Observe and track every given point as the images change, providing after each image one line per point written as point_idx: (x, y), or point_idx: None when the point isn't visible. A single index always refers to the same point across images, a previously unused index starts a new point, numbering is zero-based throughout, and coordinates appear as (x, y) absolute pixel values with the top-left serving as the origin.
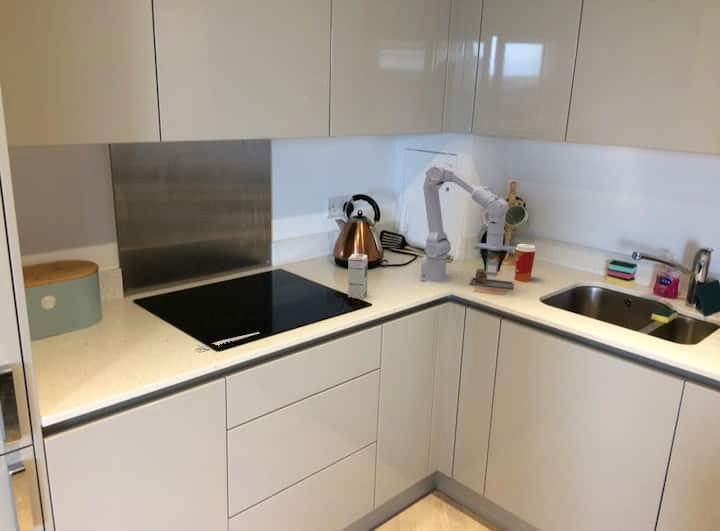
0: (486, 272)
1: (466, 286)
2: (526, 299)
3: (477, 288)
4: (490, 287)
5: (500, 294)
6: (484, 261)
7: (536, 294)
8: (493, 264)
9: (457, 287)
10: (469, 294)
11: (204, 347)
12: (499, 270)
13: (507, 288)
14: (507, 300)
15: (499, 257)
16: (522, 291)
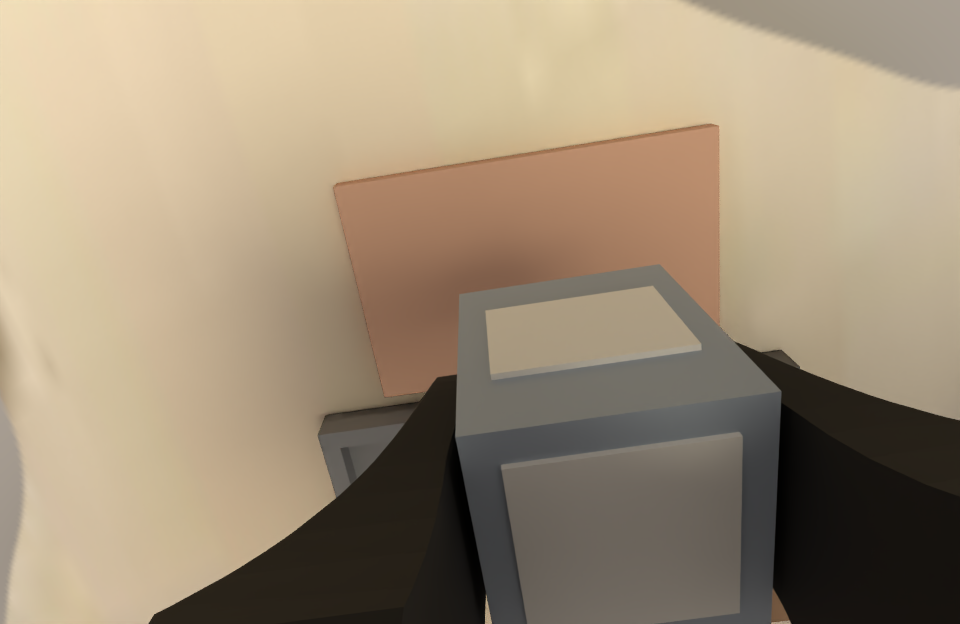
0: (661, 284)
1: (813, 322)
2: (88, 208)
3: (687, 261)
4: None
5: (387, 179)
6: (840, 401)
7: (75, 424)
8: (571, 386)
9: (916, 236)
10: (755, 34)
11: None
12: (429, 387)
13: (374, 418)
14: (262, 44)
15: (417, 544)
16: (230, 446)
